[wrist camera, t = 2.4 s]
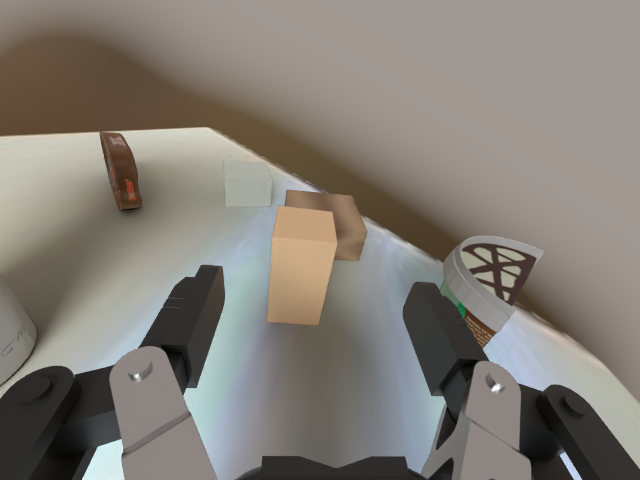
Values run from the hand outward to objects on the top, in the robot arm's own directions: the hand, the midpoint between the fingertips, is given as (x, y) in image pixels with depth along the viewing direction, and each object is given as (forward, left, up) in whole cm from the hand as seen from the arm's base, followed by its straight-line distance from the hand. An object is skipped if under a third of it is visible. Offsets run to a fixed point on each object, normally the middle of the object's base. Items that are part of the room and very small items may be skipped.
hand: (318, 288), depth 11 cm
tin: (-26, +30, -14) cm, 42 cm away
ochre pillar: (0, +11, -14) cm, 18 cm away
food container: (+16, +9, -14) cm, 23 cm away
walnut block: (+3, +24, -14) cm, 28 cm away
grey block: (-9, +34, -14) cm, 38 cm away
